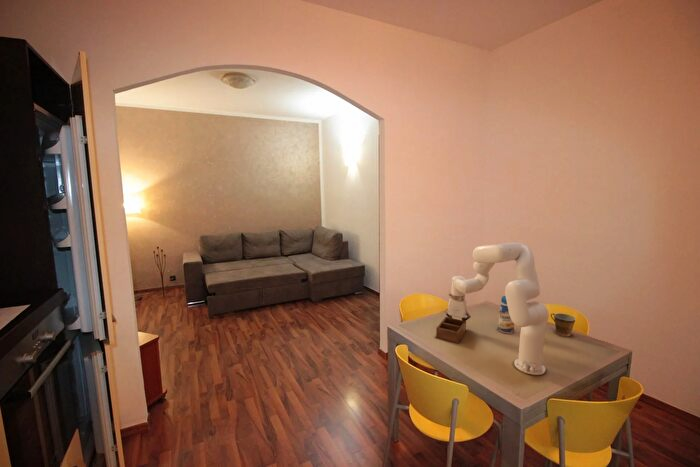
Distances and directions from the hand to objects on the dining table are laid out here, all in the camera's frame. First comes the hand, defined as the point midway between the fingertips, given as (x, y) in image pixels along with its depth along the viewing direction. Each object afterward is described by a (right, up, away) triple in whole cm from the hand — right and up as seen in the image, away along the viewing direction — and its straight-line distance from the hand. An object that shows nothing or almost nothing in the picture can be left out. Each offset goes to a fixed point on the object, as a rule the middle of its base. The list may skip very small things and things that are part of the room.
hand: (456, 325), depth 189 cm
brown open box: (-10, -1, -15) cm, 19 cm away
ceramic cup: (+57, -2, -7) cm, 57 cm away
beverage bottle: (+27, -2, -4) cm, 28 cm away
